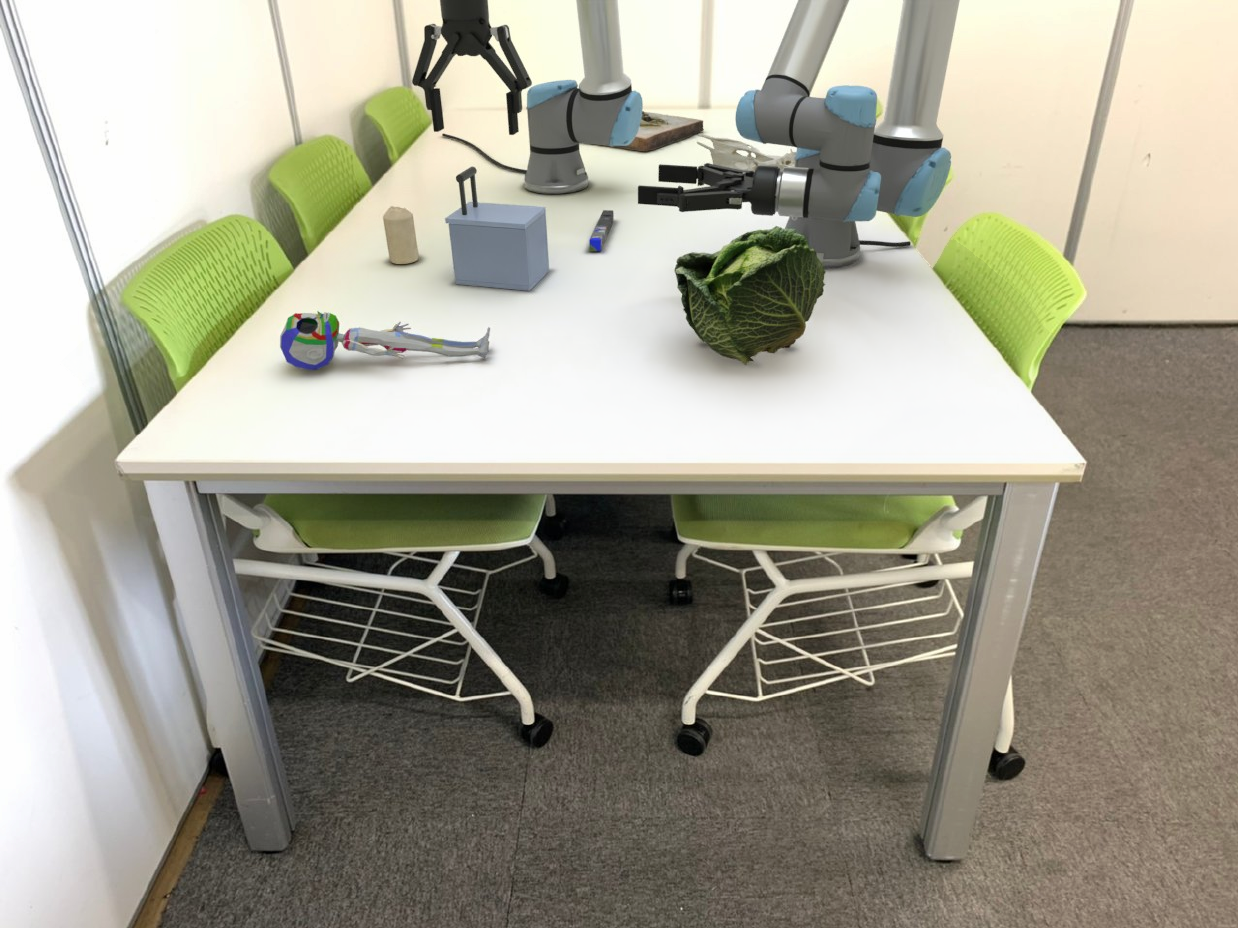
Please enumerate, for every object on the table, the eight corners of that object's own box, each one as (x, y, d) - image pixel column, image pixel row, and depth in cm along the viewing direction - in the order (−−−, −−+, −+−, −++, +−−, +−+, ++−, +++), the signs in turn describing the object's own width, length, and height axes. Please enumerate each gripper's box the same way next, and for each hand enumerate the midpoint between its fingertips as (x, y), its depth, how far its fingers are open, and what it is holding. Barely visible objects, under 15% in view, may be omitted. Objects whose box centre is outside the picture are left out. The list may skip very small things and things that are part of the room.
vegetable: (709, 376, 144) (648, 269, 136) (807, 309, 145) (751, 199, 137) (761, 404, 125) (693, 282, 118) (872, 327, 127) (812, 201, 119)
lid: (445, 223, 155) (439, 177, 151) (469, 206, 164) (464, 162, 160) (525, 229, 152) (521, 182, 148) (545, 212, 160) (543, 167, 156)
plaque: (647, 125, 237) (559, 112, 252) (647, 153, 241) (560, 139, 256) (706, 107, 258) (622, 97, 273) (705, 133, 262) (622, 121, 277)
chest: (455, 284, 161) (448, 224, 155) (478, 265, 169) (472, 207, 164) (529, 291, 158) (525, 229, 152) (549, 271, 166) (545, 212, 160)
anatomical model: (699, 130, 225) (800, 129, 221) (699, 167, 229) (797, 167, 226) (694, 144, 212) (801, 143, 208) (694, 183, 217) (798, 183, 213)
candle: (424, 256, 173) (417, 204, 168) (409, 265, 169) (401, 213, 164) (399, 253, 175) (391, 202, 170) (384, 262, 171) (375, 210, 165)
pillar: (613, 210, 190) (600, 241, 173) (613, 220, 191) (600, 251, 174) (603, 210, 190) (589, 240, 173) (603, 220, 191) (589, 251, 174)
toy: (489, 339, 129) (271, 322, 124) (486, 391, 133) (275, 376, 129) (491, 312, 137) (286, 295, 133) (487, 362, 142) (290, 347, 137)
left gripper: (379, -7, 141) (399, 133, 152) (530, -6, 136) (538, 139, 147) (400, -11, 147) (417, 124, 158) (545, -11, 142) (552, 129, 153)
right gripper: (765, 239, 134) (629, 229, 139) (786, 194, 154) (666, 186, 159) (769, 188, 130) (628, 180, 135) (790, 149, 150) (667, 142, 155)
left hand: (476, 132), depth 153 cm, fingers open, 13 cm apart
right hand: (648, 183), depth 147 cm, fingers open, 13 cm apart
